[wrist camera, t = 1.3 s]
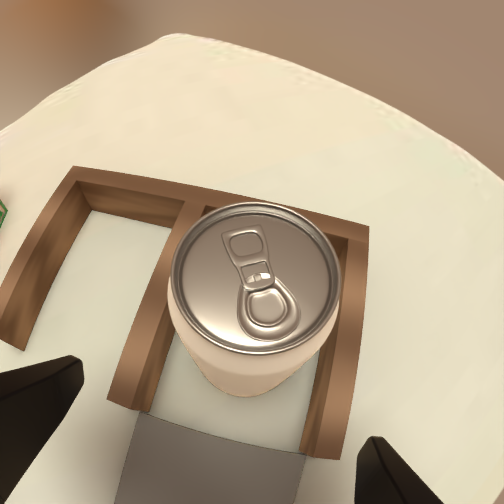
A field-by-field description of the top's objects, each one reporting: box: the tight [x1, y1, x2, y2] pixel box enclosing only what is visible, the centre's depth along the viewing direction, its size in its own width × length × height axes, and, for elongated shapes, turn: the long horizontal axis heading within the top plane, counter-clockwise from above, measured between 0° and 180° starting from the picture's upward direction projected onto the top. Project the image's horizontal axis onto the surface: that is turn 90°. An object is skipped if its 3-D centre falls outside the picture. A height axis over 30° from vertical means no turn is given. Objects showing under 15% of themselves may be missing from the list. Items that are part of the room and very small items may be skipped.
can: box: [167, 201, 341, 397], centre depth 15 cm, size 6×6×12 cm
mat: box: [114, 412, 307, 504], centre depth 15 cm, size 10×11×1 cm
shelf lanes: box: [0, 166, 369, 460], centre depth 20 cm, size 16×24×4 cm, turn 76°
